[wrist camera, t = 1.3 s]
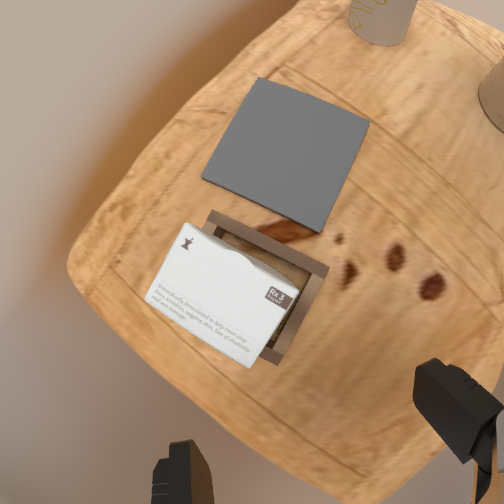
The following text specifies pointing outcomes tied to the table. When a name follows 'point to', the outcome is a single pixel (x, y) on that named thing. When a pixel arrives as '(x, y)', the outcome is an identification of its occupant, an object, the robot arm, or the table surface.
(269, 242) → the walnut collar
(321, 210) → the charcoal mat
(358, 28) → the grey patterned cylinder
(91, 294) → the table surface
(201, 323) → the skincare box
